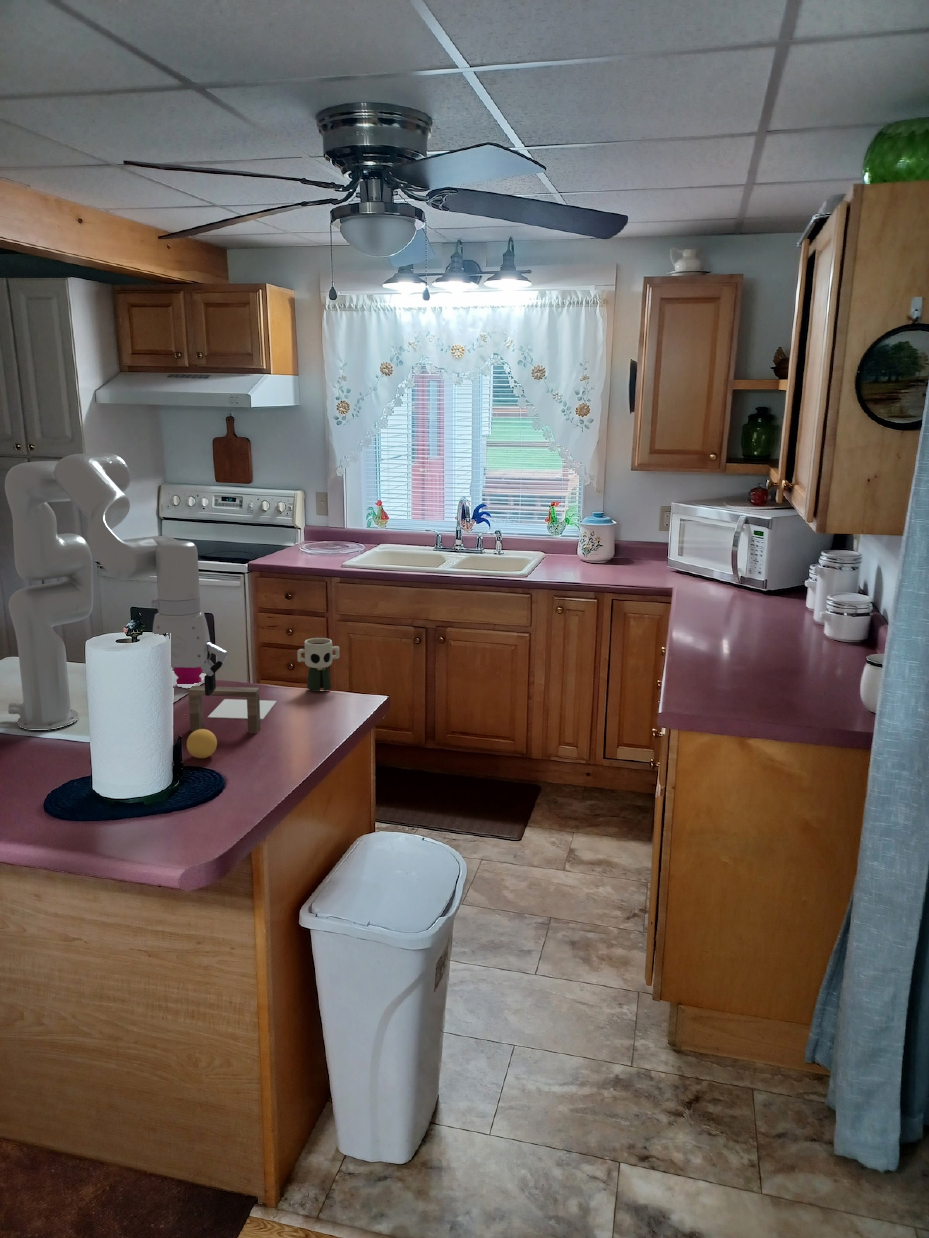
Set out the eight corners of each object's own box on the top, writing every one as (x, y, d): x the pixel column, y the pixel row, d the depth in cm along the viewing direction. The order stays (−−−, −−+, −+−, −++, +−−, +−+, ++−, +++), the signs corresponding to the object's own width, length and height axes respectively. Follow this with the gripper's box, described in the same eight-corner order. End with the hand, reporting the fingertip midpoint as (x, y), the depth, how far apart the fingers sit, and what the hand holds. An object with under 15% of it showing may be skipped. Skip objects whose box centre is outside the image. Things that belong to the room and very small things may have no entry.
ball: (183, 762, 180) (181, 734, 179) (193, 751, 186) (191, 724, 185) (212, 763, 180) (211, 735, 179) (221, 752, 186) (220, 725, 185)
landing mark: (207, 717, 206) (207, 716, 206) (224, 699, 219) (224, 699, 219) (263, 719, 206) (263, 718, 206) (276, 701, 218) (276, 700, 218)
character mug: (301, 695, 223) (300, 646, 220) (295, 687, 230) (294, 639, 227) (343, 691, 227) (342, 642, 224) (336, 683, 234) (335, 636, 231)
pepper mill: (174, 690, 225) (169, 614, 220) (175, 682, 232) (171, 607, 227) (203, 688, 227) (199, 613, 222) (203, 680, 234) (200, 606, 229)
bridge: (257, 733, 197) (255, 692, 195) (190, 731, 197) (188, 689, 195) (260, 728, 200) (259, 687, 198) (195, 726, 200) (192, 685, 198)
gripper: (126, 610, 163) (132, 698, 167) (219, 612, 163) (223, 700, 167) (142, 601, 171) (148, 686, 174) (230, 603, 170) (234, 688, 174)
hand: (184, 693), depth 171 cm, fingers open, 9 cm apart
